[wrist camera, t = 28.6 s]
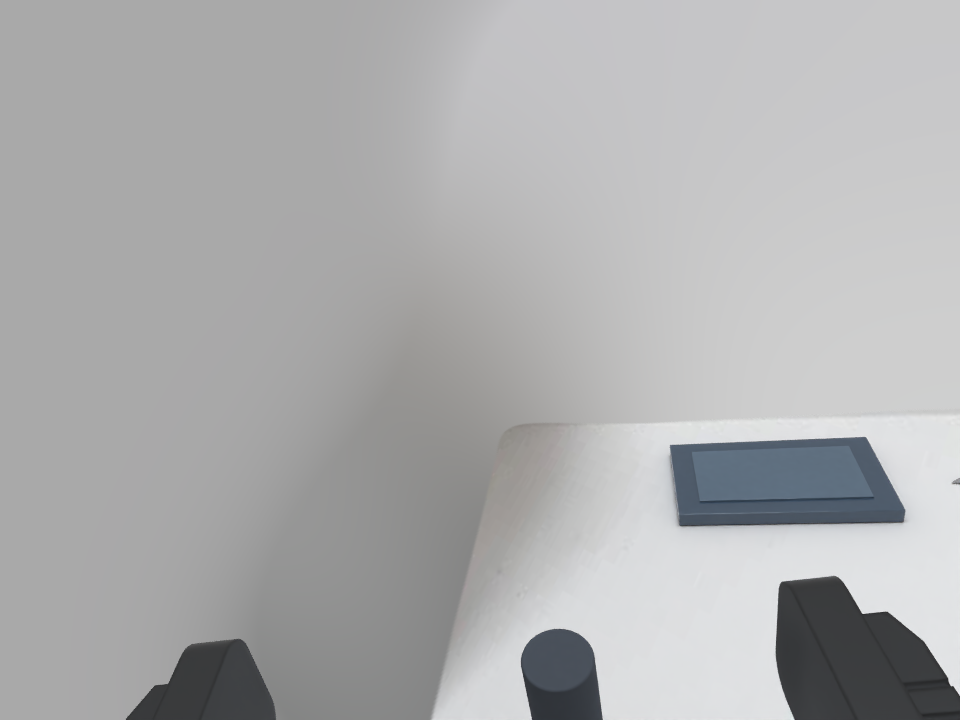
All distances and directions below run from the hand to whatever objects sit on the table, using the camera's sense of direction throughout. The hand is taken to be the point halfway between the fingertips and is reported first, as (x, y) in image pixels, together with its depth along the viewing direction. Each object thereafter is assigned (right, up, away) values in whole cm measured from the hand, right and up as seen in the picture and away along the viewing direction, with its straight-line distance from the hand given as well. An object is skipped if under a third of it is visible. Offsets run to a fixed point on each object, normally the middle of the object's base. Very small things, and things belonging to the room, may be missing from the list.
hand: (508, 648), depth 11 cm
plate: (+21, -5, +40) cm, 45 cm away
